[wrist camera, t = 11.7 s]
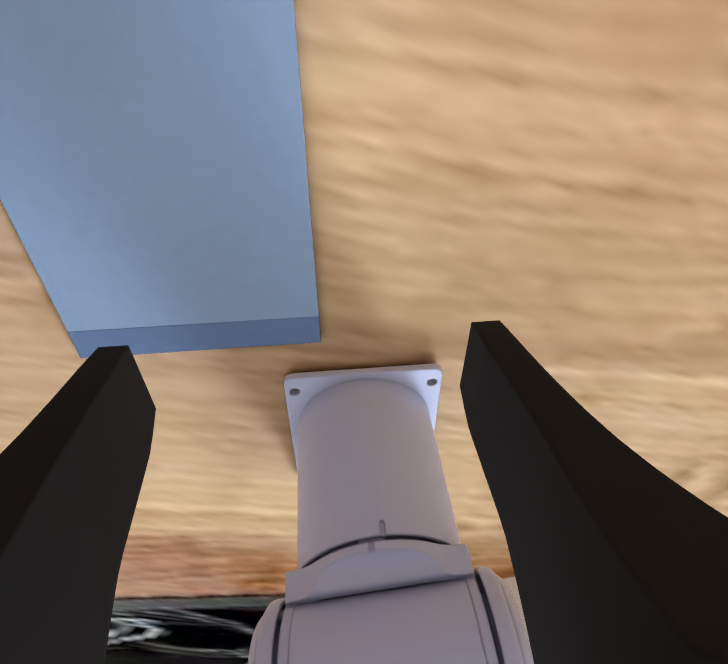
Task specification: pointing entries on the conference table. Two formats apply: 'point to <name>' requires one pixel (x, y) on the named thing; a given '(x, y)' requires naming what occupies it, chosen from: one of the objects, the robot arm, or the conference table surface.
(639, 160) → the conference table surface
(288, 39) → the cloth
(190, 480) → the conference table surface
